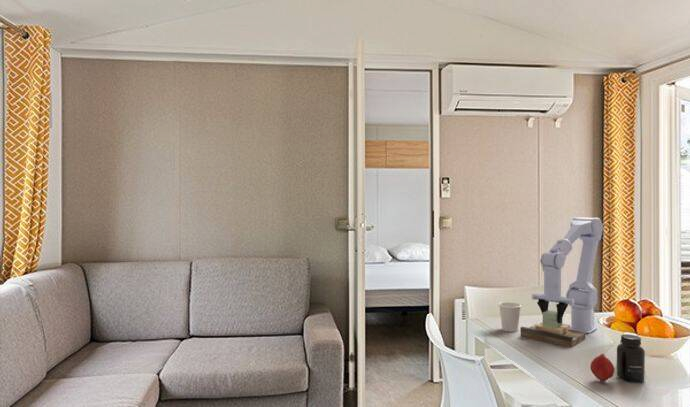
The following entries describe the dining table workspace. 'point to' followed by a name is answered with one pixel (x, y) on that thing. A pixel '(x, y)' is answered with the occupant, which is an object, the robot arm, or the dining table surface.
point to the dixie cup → (510, 316)
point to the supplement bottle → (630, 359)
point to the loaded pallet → (558, 330)
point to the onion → (602, 368)
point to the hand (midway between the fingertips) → (552, 321)
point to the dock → (553, 336)
